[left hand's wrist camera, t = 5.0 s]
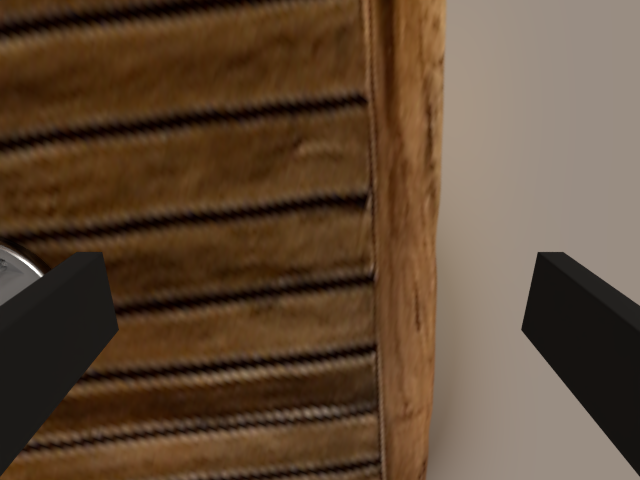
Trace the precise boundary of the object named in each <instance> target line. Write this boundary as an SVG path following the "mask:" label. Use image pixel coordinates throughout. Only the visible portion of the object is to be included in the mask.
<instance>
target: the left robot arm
mask: <svg viewBox="0 0 640 480" xmlns="http://www.w3.org/2000/svg"><path fill="white" fill-rule="evenodd" d="M118 330H119V329H118V324H117V319H116V315H115V310H114V305H113V301H112V296H111V291H110V287H109V282H108V277H107V273H106V268H105V263H104V258H103V254H102V252H76V253H75V254H73V255H72V256H70V257H69V258H68V259H66V260H65V261H63V262H62V263H61V264H59V265H58V266H56V267H55V268H53V269H52V270H51V268H50V267H49V266H48V265H47V264H46V263H45V262H43V261H42V260H41V259H40V258H39V257H37V256H36V255H35V254H33V253H32V252H31V251H29V250H27V249H26V248H24V247H22V246H20V245H18V244H16V243H14V242H12V241H10V240H7V239H4V238H1V237H0V476H1V475H2V474H3V472H4V471H5V470H6V469H7V468H8V466H9V465H10V464H11V463H12V461H13V460H14V459H15V458H16V456H17V455H18V454H19V453H20V451H21V450H22V449H23V448H24V446H25V445H26V444H27V443H28V442H29V440H30V439H31V438H32V437H33V435H34V434H35V433H36V432H37V430H38V429H39V428H40V427H41V425H42V424H43V423H44V422H45V421H46V419H47V418H48V417H49V416H50V414H51V413H52V412H53V411H54V409H55V408H56V407H57V406H58V404H59V403H60V402H61V401H62V399H63V398H64V397H65V396H66V395H67V393H68V392H69V391H70V390H71V388H72V387H73V386H74V385H75V383H76V382H77V381H78V380H79V378H80V377H81V376H82V375H83V374H84V372H85V371H86V370H87V369H88V367H89V366H90V365H91V364H92V362H93V361H94V360H95V359H96V357H97V356H98V355H99V354H100V352H101V351H102V350H103V349H104V348H105V346H106V345H107V344H108V343H109V341H110V340H111V339H112V338H113V336H114V335H115V334H116V333H117V331H118ZM521 330H522V331H523V333H524V334H525V335H526V336H527V338H528V339H529V340H530V341H531V343H532V344H533V345H534V346H535V348H536V349H537V350H538V351H539V352H540V354H541V355H542V356H543V357H544V359H545V360H546V361H547V362H548V364H549V365H550V366H551V367H552V369H553V370H554V371H555V372H556V374H557V375H558V376H559V377H560V378H561V380H562V381H563V382H564V383H565V385H566V386H567V387H568V388H569V390H570V391H571V392H572V393H573V395H574V396H575V397H576V398H577V399H578V401H579V402H580V403H581V404H582V406H583V407H584V408H585V409H586V411H587V412H588V413H589V414H590V416H591V417H592V418H593V419H594V421H595V422H596V423H597V424H598V425H599V427H600V428H601V429H602V430H603V432H604V433H605V434H606V435H607V437H608V438H609V439H610V440H611V442H612V443H613V444H614V445H615V446H616V448H617V449H618V450H619V451H620V453H621V454H622V455H623V456H624V458H625V459H626V460H627V461H628V463H629V464H630V465H631V466H632V468H633V469H634V470H635V471H636V472H637V474H638V475H639V476H640V306H639V305H638V304H636V303H635V302H633V301H632V300H631V299H629V298H628V297H626V296H625V295H624V294H622V293H621V292H619V291H618V290H616V289H615V288H614V287H612V286H611V285H609V284H608V283H606V282H605V281H604V280H602V279H601V278H599V277H598V276H597V275H595V274H594V273H592V272H591V271H589V270H588V269H587V268H585V267H584V266H582V265H581V264H579V263H578V262H577V261H575V260H574V259H572V258H571V257H570V256H568V255H567V254H565V253H564V252H538V254H537V258H536V263H535V268H534V273H533V277H532V282H531V287H530V291H529V296H528V301H527V305H526V310H525V315H524V319H523V324H522V329H521Z"/></svg>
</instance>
